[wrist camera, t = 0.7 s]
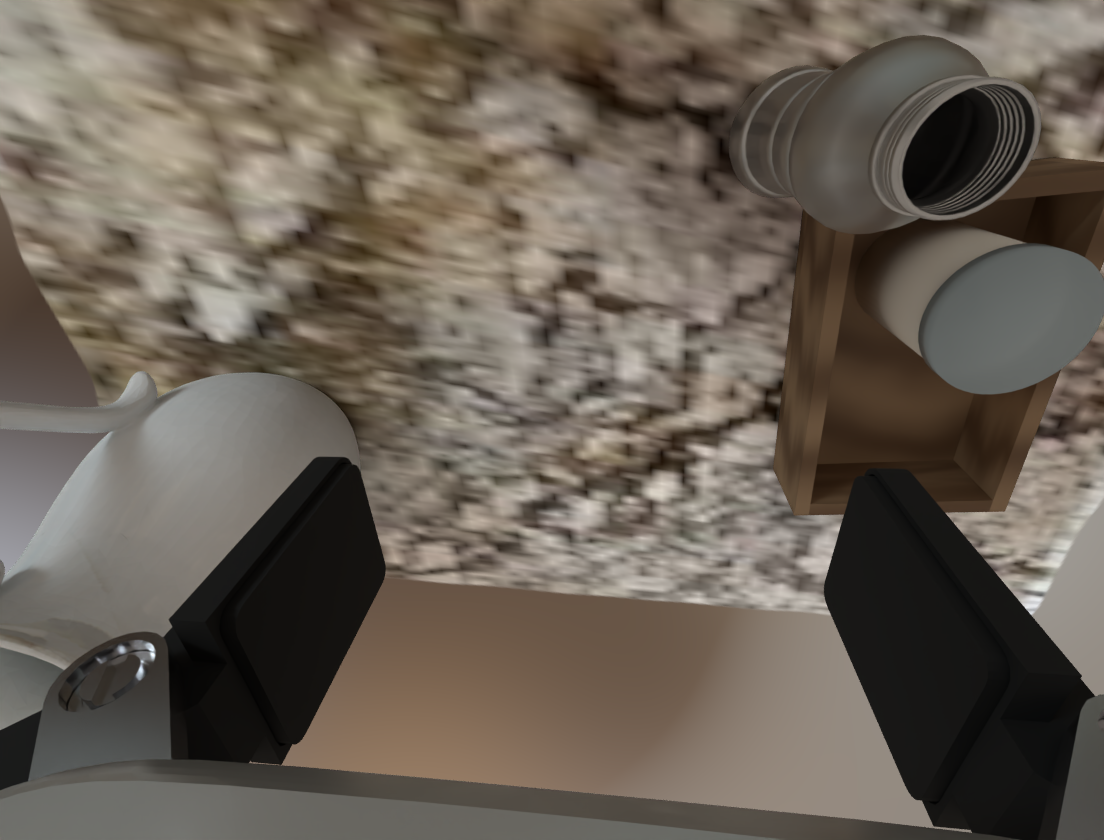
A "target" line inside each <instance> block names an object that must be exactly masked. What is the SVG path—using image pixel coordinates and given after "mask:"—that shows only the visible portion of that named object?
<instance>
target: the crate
mask: <svg viewBox="0 0 1104 840" xmlns="http://www.w3.org/2000/svg"><path fill="white" fill-rule="evenodd" d="M952 220H953V221H957V222H960V223H963V224H966V225H970V226H973V227H976V228H979V229H982V230H986V231H989V232H992V233H995V234H999V235H1002V236H1005V237H1008V238H1012V239H1015V240H1018V241H1021V242H1025V243H1038V244H1046V245H1050V246H1054V247H1057V248H1061V249H1064V250H1068V251H1071V252H1074V253H1076V254H1079V255H1081V256H1083V257H1085V258H1086V259H1088V260H1089V261H1091V262H1092V263H1093V264H1094V265H1095V266H1096V267H1097V269H1098V270H1099V272H1100V270H1101V267H1102V265H1103V262H1104V162H1096V161H1086V160H1075V159H1065V158H1045V159H1036V160H1031V161H1030V162H1029V164H1028V166H1027V168H1026V169H1025V171H1024V172H1023V173H1022V175H1021V176H1020V177H1019V179H1018V180H1017V181H1016V182H1015V183H1014V184H1013V185H1012V186H1011V187H1010V188H1009V189H1008V190H1007V191H1006V192H1005V193H1004V194H1003V195H1002V196H1001V197H999V198H998V199H997V200H995V201H994V202H993V203H991V204H990V205H988V206H986V207H985V208H983V209H981V210H979V211H977V212H975V213H972V214H970V215H967V216H965V217H961V218H957V219H952ZM888 230H889V229H888ZM888 230H884V231H880V232H875V233H871V234H849V233H843V232H838V231H835V230H833V229H831V228H828V227H826V226H824V225H823V224H821V223H820V222H818V221H817V220H816V219H814V218H813V217H812V216H810V215H809V214H808V213H807V212H806V211H805V210H804V209H803V214H802V222H801V231H800V240H799V249H798V257H797V266H796V275H795V283H794V292H793V301H792V309H791V318H790V327H789V335H788V344H787V353H786V361H785V370H784V379H783V387H782V396H781V405H780V413H779V422H778V431H777V439H776V448H775V457H774V465H773V469H774V471H775V474H776V476H777V478H778V480H779V483H780V485H781V487H782V489H783V491H784V494H785V496H786V498H787V500H788V502H789V505H790V507H791V509H792V511H793V514H794V515H838V514H844V513H845V510H846V506H847V503H848V499H849V496H850V492H851V489H852V485H853V482H854V480H855V478H856V477H858V476H864V474H865V472H866V471H867V470H868V469H870V468H891V469H907V470H909V471H910V472H911V473H912V474H913V475H914V476H915V478H916V479H917V480H918V481H919V482H920V484H921V485H922V486H923V487H924V488H925V490H926V491H927V492H928V493H929V494H930V496H931V497H932V498H933V499H934V500H935V501H936V503H937V504H938V505H939V506H940V507H941V509H942V510H943V511H944V512H999V511H1005V510H1006V507H1007V505H1008V502H1009V499H1010V497H1011V494H1012V492H1013V489H1014V487H1015V484H1016V482H1017V479H1018V477H1019V474H1020V472H1021V469H1022V467H1023V464H1024V462H1025V459H1026V457H1027V454H1028V451H1029V449H1030V446H1031V444H1032V441H1033V439H1034V436H1035V434H1036V431H1037V429H1038V426H1039V424H1040V421H1041V419H1042V416H1043V414H1044V411H1045V409H1046V406H1047V404H1048V401H1049V398H1050V396H1051V393H1052V391H1053V388H1054V386H1055V383H1056V381H1057V378H1058V376H1059V373H1060V371H1061V369H1060V370H1059V371H1058V372H1056V373H1055V374H1053V375H1051V376H1049V377H1048V378H1046V379H1044V380H1042V381H1040V382H1038V383H1036V384H1034V385H1031V386H1028V387H1026V388H1023V389H1019V390H1016V391H1012V392H1007V393H1001V394H975V393H970V392H966V391H963V390H960V389H958V388H955V387H954V386H952V385H950V384H949V383H947V382H946V381H945V380H944V379H942V378H941V377H940V376H939V375H937V374H936V373H935V372H934V371H933V370H931V369H930V368H929V366H928V365H927V364H926V363H925V361H924V359H923V358H922V357H921V356H920V355H919V354H917V353H916V352H915V351H914V350H912V349H911V348H910V347H908V346H907V345H906V344H905V343H903V342H902V341H901V340H900V339H898V338H897V337H896V336H894V335H893V334H892V333H891V332H889V331H888V330H887V329H885V328H884V327H883V326H882V325H880V324H879V323H878V322H877V321H875V320H874V319H873V318H871V317H870V316H869V315H868V314H867V313H865V312H864V310H863V309H862V308H861V306H860V305H859V303H858V301H857V298H856V294H855V276H856V272H857V269H858V266H859V264H860V262H861V260H862V258H863V256H864V254H865V253H866V251H867V250H868V249H869V247H870V246H871V245H872V244H873V243H874V242H875V241H876V240H877V239H878V238H879V237H880V236H881V235H883V234H884V233H885V232H886V231H888Z"/></svg>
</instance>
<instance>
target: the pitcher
mask: <svg viewBox="0 0 1104 840" xmlns="http://www.w3.org/2000/svg"><path fill="white" fill-rule="evenodd" d="M157 395H158V394H157V388H156V385H155V382H154V380H153V378H152V377H151V376H150V375H149V374H148V373H146V372H144V371H140V372H136V373H135V374H134V375H133V376H132V377H131V379H130V381H129V383H128V385H127V387H126V389H125V391H124V392H123V394H122V395H121V397H120V398H119V399H118V400H117V401H116V402H114V403H112V404H109V405H106V406H101V407H63V406H50V405H40V404H29V403H19V402H9V401H0V428H1V429H16V430H35V431H51V432H72V433H73V432H74V433H101V432H110V433H108V434H107V435H106V436H105V437H104V438H103V439H102V440H101V441H100V442H99V443H98V444H97V445H96V446H95V447H94V449H92V450H91V452H89V454H88V455H87V456H86V457H85V458H84V460H83V461H82V462H81V463H80V465H79V466H78V468H77V469H76V470H75V472H74V473H73V475H72V476H71V477H70V479H69V480H68V482H67V483H66V485H65V486H64V487H63V489H62V491H61V492H60V494H59V495H58V497H57V498H56V500H55V502H54V503H53V505H52V506H51V508H50V510H49V511H48V513H47V515H46V517H45V518H44V520H43V522H42V523H41V525H40V527H39V528H38V530H37V532H36V533H35V535H34V537H33V538H32V540H31V541H30V543H29V544H28V546H27V548H26V549H25V551H24V552H23V554H22V555H21V557H20V558H19V559H18V561H17V562H16V563H15V564H14V565H13V567H12V568H11V569H10V571H8V573H7V574H6V575H5V576H4V574H5V573H4V572H5V567H4V564H3V562H2V561H1V560H0V730H2V729H4V728H6V727H8V726H10V725H12V724H14V723H16V722H18V721H20V720H22V719H24V718H26V717H28V716H30V715H32V714H35V713H37V712H39V711H41V710H42V708H43V703H44V700H45V698H46V695H47V693H48V690H49V688H50V687H51V685H52V684H53V683H54V682H55V680H56V679H57V678H58V676H59V675H60V674H61V673H62V672H63V671H64V670H65V669H66V668H67V667H68V666H70V665H71V664H72V663H73V662H74V661H75V660H76V659H78V658H79V657H81V656H82V655H84V654H85V653H87V652H88V651H90V650H91V649H93V648H94V647H96V646H98V645H100V644H102V643H104V642H106V641H108V640H110V639H113V638H116V637H119V636H122V635H125V634H128V633H135V632H143V631H146V632H152V633H157V634H159V635H160V636H162V637H164V636H165V634H166V633H167V632H168V631H169V630H170V629H171V628H172V625H171V624H170V622H169V620H168V619H169V618H170V617H171V616H172V615H173V614H174V613H175V612H176V611H177V609H178V608H179V607H180V606H181V605H182V604H183V603H184V602H185V601H186V600H187V598H188V597H189V596H190V595H191V594H192V593H193V592H194V591H195V590H196V588H197V587H198V586H199V585H200V584H201V583H202V582H203V581H204V580H205V579H206V577H207V576H208V575H209V574H210V573H211V572H212V571H213V570H214V569H215V567H216V566H217V565H218V564H219V563H220V562H221V561H222V560H223V559H224V557H225V556H226V555H227V554H228V553H229V552H230V551H231V550H232V549H233V548H234V546H235V545H236V544H237V543H238V542H239V541H240V540H241V539H242V538H243V536H244V535H245V534H246V533H247V532H248V531H249V530H250V529H251V528H252V526H253V525H254V524H255V523H256V522H257V521H258V520H259V519H260V518H261V517H262V515H263V514H264V513H265V512H266V511H267V510H268V509H269V508H270V507H271V505H272V504H273V503H274V502H275V501H276V500H277V499H278V498H279V497H280V495H281V494H282V493H283V492H284V491H285V490H286V489H287V488H288V487H289V486H290V484H291V483H292V482H293V481H294V480H295V479H296V478H297V477H298V476H299V474H300V473H301V472H302V471H303V470H304V469H305V468H306V467H307V466H308V464H309V463H310V462H311V461H312V460H313V459H314V458H316V457H346V458H348V459H349V460H350V461H351V463H352V464H354V465H357V466H358V468H359V470H360V473H361V464H360V454H359V449H358V445H357V441H356V437H355V434H354V431H353V428H352V427H351V425H350V423H349V421H348V419H347V417H346V416H345V414H344V413H343V411H342V410H341V409H340V408H339V407H338V405H337V404H336V403H334V402H333V401H332V400H331V399H330V398H329V397H328V396H326V395H325V394H324V393H322V392H321V391H319V390H317V389H316V388H314V387H313V386H311V385H308V384H306V383H304V382H302V381H299V380H296V379H293V378H289V377H285V376H281V375H275V374H268V373H231V374H223V375H217V376H212V377H208V378H204V379H201V380H197V381H194V382H191V383H188V384H184V385H182V386H180V387H178V388H175V389H173V390H171V391H169V392H167V393H165V394H163V395H162V396H160V397H158V398H157Z"/></svg>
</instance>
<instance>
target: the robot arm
mask: <svg viewBox="0 0 1104 840" xmlns="http://www.w3.org/2000/svg"><path fill="white" fill-rule="evenodd" d="M385 571H386V568H385V561H384V557H383V554H382V550H381V546H380V543H379V539H378V535H377V532H376V528H375V524H374V521H373V517H372V513H371V510H370V506H369V502H368V499H367V495H366V491H365V488H364V484H363V480H362V476H361V473H360V470H359V468H358V466H357V465H354V464H352V463H351V461H350V460H349V459H348V458H346V457H316V458H314V459H313V460H312V461H311V462H310V463H309V464H308V466H307V467H306V468H305V469H304V470H303V471H302V472H301V473H300V474H299V476H298V477H297V478H296V479H295V480H294V481H293V482H292V483H291V484H290V486H289V487H288V488H287V489H286V490H285V491H284V492H283V493H282V494H281V495H280V497H279V498H278V499H277V500H276V501H275V502H274V503H273V504H272V505H271V507H270V508H269V509H268V510H267V511H266V512H265V513H264V514H263V515H262V517H261V518H260V519H259V520H258V521H257V522H256V523H255V524H254V525H253V526H252V528H251V529H250V530H249V531H248V532H247V533H246V534H245V535H244V536H243V538H242V539H241V540H240V541H239V542H238V543H237V544H236V545H235V546H234V548H233V549H232V550H231V551H230V552H229V553H228V554H227V555H226V556H225V557H224V559H223V560H222V561H221V562H220V563H219V564H218V565H217V566H216V567H215V569H214V570H213V571H212V572H211V573H210V574H209V575H208V576H207V577H206V579H205V580H204V581H203V582H202V583H201V584H200V585H199V586H198V587H197V588H196V590H195V591H194V592H193V593H192V594H191V595H190V596H189V597H188V598H187V600H186V601H185V602H184V603H183V604H182V605H181V606H180V607H179V608H178V609H177V611H176V612H175V613H174V614H173V615H172V616H171V617H170V618H169V619H168V620H169V622H170V624H171V625H172V628H171V629H170V630H169V631H168V632H167V633H166V634H165V636H164V637H162V636H160V635H159V634H157V633H152V632H146V631H143V632H135V633H128V634H125V635H122V636H119V637H116V638H113V639H110V640H108V641H106V642H104V643H102V644H100V645H98V646H96V647H94V648H93V649H91V650H90V651H88V652H87V653H85V654H84V655H82V656H81V657H79V658H78V659H76V660H75V661H74V662H73V663H72V664H71V665H70V666H68V667H67V668H66V669H65V670H64V671H63V672H62V673H61V674H60V675H59V676H58V678H57V679H56V680H55V682H54V683H53V684H52V685H51V687H50V688H49V690H48V693H47V695H46V698H45V700H44V703H43V708H42V710H41V711H39V712H37V713H35V714H32V715H30V716H28V717H26V718H24V719H22V720H20V721H18V722H16V723H14V724H12V725H10V726H8V727H6V728H4V729H2V730H0V840H1104V695H1098V696H1094V694H1093V693H1092V692H1091V691H1090V689H1089V688H1088V687H1087V686H1086V685H1085V684H1084V682H1083V681H1082V680H1081V679H1080V678H1081V677H1082V675H1081V674H1080V673H1079V672H1078V671H1077V670H1076V668H1075V667H1074V666H1073V665H1072V663H1071V662H1070V661H1069V660H1068V659H1067V658H1066V657H1065V655H1064V654H1063V653H1062V652H1061V650H1060V649H1059V648H1058V647H1057V646H1056V644H1055V643H1054V642H1053V641H1052V640H1051V638H1049V636H1048V635H1047V634H1046V633H1045V631H1044V630H1043V629H1042V628H1041V627H1040V625H1039V624H1038V623H1037V622H1036V621H1035V619H1034V618H1033V617H1032V616H1031V615H1030V613H1029V612H1028V611H1027V610H1026V609H1025V607H1024V606H1023V605H1022V604H1021V603H1020V602H1019V600H1018V599H1017V598H1016V597H1015V596H1014V594H1013V593H1012V592H1011V591H1010V590H1009V588H1008V587H1007V586H1006V585H1005V584H1004V582H1003V581H1002V580H1001V579H1000V578H999V577H998V575H997V574H996V573H995V572H994V571H993V569H992V568H991V567H990V566H989V565H988V563H987V562H986V561H985V560H984V559H983V557H982V556H981V555H980V554H979V553H978V552H977V550H976V549H975V548H974V547H973V546H972V544H971V543H970V542H969V541H968V540H967V538H966V537H965V536H964V535H963V534H962V532H961V531H960V530H959V529H958V528H957V527H956V525H955V524H954V523H953V522H952V521H951V519H950V518H949V517H948V516H947V515H946V513H945V512H944V511H943V510H942V509H941V507H940V506H939V505H938V504H937V503H936V501H935V500H934V499H933V498H932V497H931V496H930V494H929V493H928V492H927V491H926V490H925V488H924V487H923V486H922V485H921V484H920V482H919V481H918V480H917V479H916V478H915V476H914V475H913V474H912V473H911V472H910V471H909V470H907V469H891V468H870V469H868V470H867V471H866V472H865V474H864V476H858V477H856V478H855V480H854V482H853V485H852V489H851V492H850V496H849V499H848V503H847V506H846V510H845V513H844V517H843V520H842V524H841V527H840V531H839V535H838V538H837V542H836V545H835V549H834V552H833V556H832V559H831V563H830V566H829V570H828V573H827V577H826V580H825V585H824V596H825V601H826V604H827V607H828V609H829V611H830V613H831V616H832V618H833V620H834V623H835V625H836V627H837V629H838V632H839V634H840V637H841V639H842V641H843V643H844V645H845V648H846V650H847V653H848V655H849V657H850V660H851V662H852V664H853V666H854V669H855V671H856V673H857V676H858V678H859V680H860V682H861V685H862V687H863V689H864V692H865V694H866V696H867V699H868V701H869V703H870V706H871V708H872V710H873V712H874V715H875V717H876V719H877V722H878V724H879V726H880V728H881V731H882V733H883V736H884V738H885V740H886V742H887V745H888V747H889V749H890V752H891V754H892V756H893V759H894V761H895V763H896V765H897V768H898V770H899V772H900V775H901V777H902V779H903V782H904V784H905V786H906V788H907V790H908V792H909V793H910V794H911V796H912V797H913V798H914V799H916V800H922V802H923V804H924V806H925V808H926V810H927V813H928V815H929V817H930V819H931V821H932V824H933V826H936V827H946V828H957V829H967V830H971V831H972V833H969V832H959V831H952V830H943V829H934V828H926V827H917V826H909V825H900V824H891V823H883V822H874V821H866V820H858V819H847V818H837V817H827V816H817V815H806V814H797V813H787V812H777V811H766V810H757V809H747V808H737V807H727V806H717V805H707V804H697V803H687V802H677V801H667V800H656V799H646V798H635V797H624V796H614V795H604V794H593V793H582V792H572V791H561V790H550V789H539V788H528V787H518V786H508V785H497V784H486V783H476V782H465V781H454V780H441V779H432V778H420V777H409V776H397V775H386V774H375V773H363V772H352V771H341V770H330V769H319V768H307V767H296V766H281V764H282V763H283V761H284V759H285V757H286V755H287V753H288V751H289V750H290V748H291V746H292V744H297V743H299V742H300V741H301V740H302V739H303V737H304V735H305V734H306V732H307V730H308V728H309V726H310V724H311V722H312V720H313V718H314V716H315V714H316V712H317V710H318V708H319V706H320V704H321V702H322V700H323V698H324V697H325V695H326V692H327V691H328V689H329V686H330V685H331V683H332V681H333V679H334V677H335V675H336V673H337V671H338V669H339V667H340V665H341V663H342V661H343V659H344V657H345V655H346V653H347V651H348V649H349V648H350V645H351V644H352V642H353V640H354V638H355V636H356V634H357V632H358V630H359V628H360V626H361V624H362V622H363V620H364V618H365V616H366V614H367V612H368V610H369V608H370V606H371V604H372V602H373V600H374V598H375V597H376V595H377V593H378V591H379V589H380V587H381V585H382V583H383V580H384V577H385ZM250 760H251V762H258V763H268V764H279V765H266V764H252V763H249V762H250Z"/></svg>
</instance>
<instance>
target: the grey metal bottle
mask: <svg viewBox="0 0 1104 840" xmlns="http://www.w3.org/2000/svg"><path fill="white" fill-rule="evenodd" d="M1040 131H1041V113H1040V110H1039V106H1038V103H1037V101H1036V99H1035V98H1034V96H1033V94H1032V93H1031V92H1030V91H1029V90H1028V89H1027V88H1026V87H1024V86H1023V85H1021V84H1019V83H1017V82H1015V81H1012V80H1009V79H1006V78H999V77H989V75H988V73H987V72H986V70H985V69H984V67H983V65H982V64H981V62H980V61H979V60H978V59H977V58H976V57H975V56H973V55H972V54H971V53H970V52H969V51H968V50H966V49H964V48H962V47H961V46H959V45H957V44H955V43H952V42H950V41H948V40H946V39H944V38H940V37H933V36H927V35H918V36H907V37H901V38H898V39H895V40H891V41H888V42H885V43H882V44H880V45H878V46H876V47H873V48H871V49H869V50H867V51H865V52H863V53H861V54H859V55H857V56H855V57H853V58H852V59H851V60H849V61H848V62H846V63H845V64H843V65H842V66H840V67H839V68H838V69H836V70H834V71H831V70H829V69H827V68H822V67H816V66H809V65H806V66H795V67H792V68H788V69H785V70H782V71H780V72H778V73H776V74H774V75H772V76H770V77H769V78H768V79H767V80H765V81H764V82H763V83H761V84H760V85H759V86H758V87H757V88H756V89H755V90H754V91H753V92H752V93H751V94H750V95H749V96H748V98H747V99H746V101H745V102H744V103H743V105H742V106H741V108H740V109H739V111H738V113H737V115H736V117H735V119H734V122H733V125H732V128H731V132H730V138H729V156H730V160H731V164H732V168H733V170H734V172H735V174H736V176H737V178H738V179H739V181H740V182H741V183H742V184H743V185H744V186H745V187H746V188H747V189H749V190H750V191H751V192H753V193H755V194H758V195H760V196H764V197H770V198H785V197H795V198H796V200H797V201H798V202H799V204H800V205H801V206H802V207H803V209H804V210H805V211H806V212H807V213H808V214H809V215H810V216H812V217H813V218H814V219H816V220H817V221H818V222H820V223H821V224H823V225H824V226H826V227H828V228H831V229H833V230H835V231H838V232H843V233H849V234H871V233H875V232H880V231H884V230H888V229H893V228H897V227H900V226H903V225H905V224H908V223H910V222H913V221H915V220H917V219H919V218H923V219H929V220H952V219H957V218H961V217H965V216H967V215H970V214H972V213H975V212H977V211H979V210H981V209H983V208H985V207H986V206H988V205H990V204H991V203H993V202H994V201H995V200H997V199H998V198H999V197H1001V196H1002V195H1003V194H1004V193H1005V192H1006V191H1007V190H1008V189H1009V188H1010V187H1011V186H1012V185H1013V184H1014V183H1015V182H1016V181H1017V180H1018V179H1019V177H1020V176H1021V175H1022V173H1023V172H1024V171H1025V169H1026V168H1027V166H1028V164H1029V162H1030V161H1031V159H1032V157H1033V155H1034V152H1035V150H1036V147H1037V144H1038V142H1039V136H1040Z"/></svg>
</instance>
